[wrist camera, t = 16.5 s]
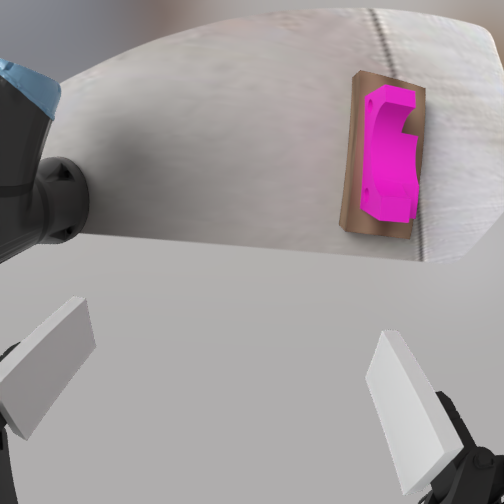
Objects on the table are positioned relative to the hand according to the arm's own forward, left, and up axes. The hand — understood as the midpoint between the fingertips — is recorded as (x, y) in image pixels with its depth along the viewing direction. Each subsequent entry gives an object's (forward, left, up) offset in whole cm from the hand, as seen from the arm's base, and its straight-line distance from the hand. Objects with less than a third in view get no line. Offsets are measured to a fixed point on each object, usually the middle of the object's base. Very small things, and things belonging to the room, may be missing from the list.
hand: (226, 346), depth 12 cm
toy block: (+16, +10, -28) cm, 34 cm away
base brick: (+17, +10, -32) cm, 37 cm away
